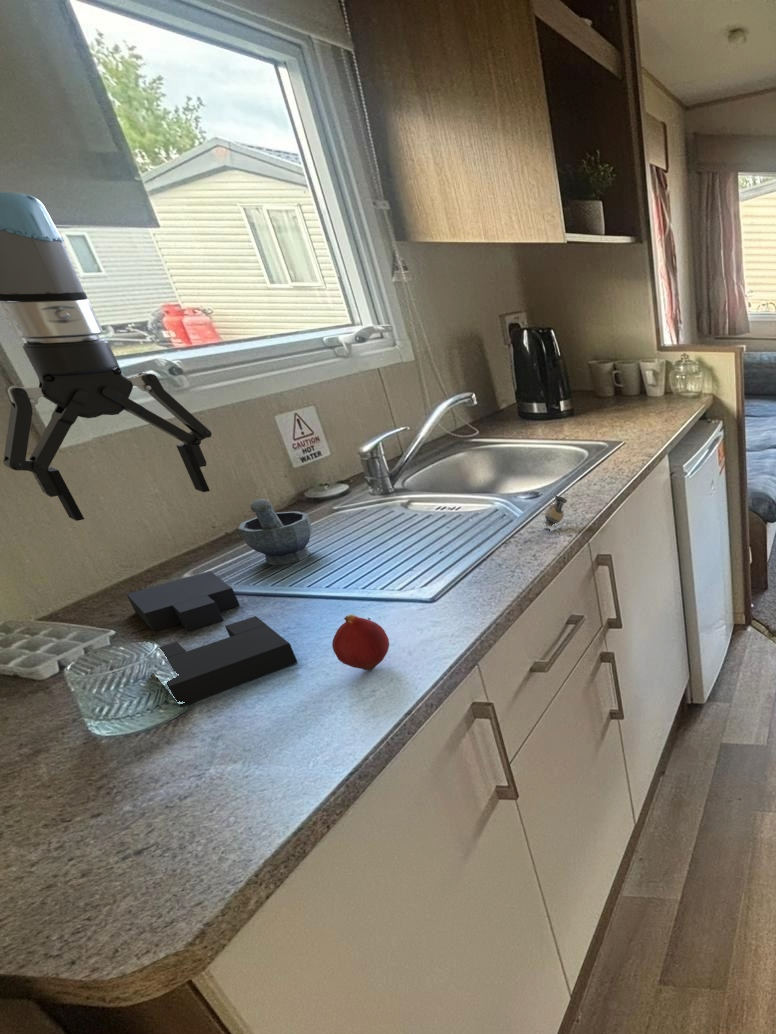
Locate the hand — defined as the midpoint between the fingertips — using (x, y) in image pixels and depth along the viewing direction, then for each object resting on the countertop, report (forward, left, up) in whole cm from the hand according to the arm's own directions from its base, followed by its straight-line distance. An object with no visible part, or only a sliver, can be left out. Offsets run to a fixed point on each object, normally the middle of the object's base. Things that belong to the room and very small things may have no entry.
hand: (143, 503), depth 90 cm
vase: (+14, +53, -17) cm, 58 cm away
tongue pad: (+1, -1, -16) cm, 17 cm away
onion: (+38, +8, -17) cm, 43 cm away
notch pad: (+23, -3, -16) cm, 29 cm away
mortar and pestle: (-10, +15, -17) cm, 25 cm away
